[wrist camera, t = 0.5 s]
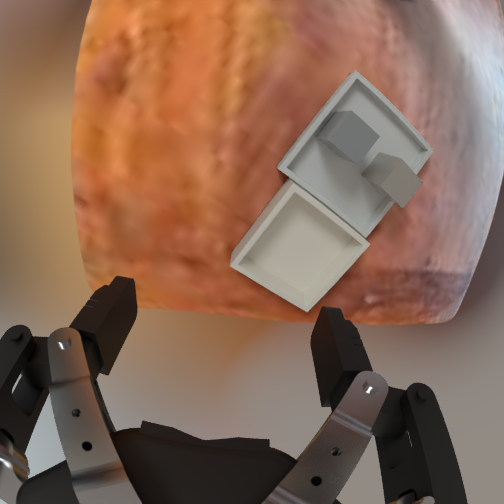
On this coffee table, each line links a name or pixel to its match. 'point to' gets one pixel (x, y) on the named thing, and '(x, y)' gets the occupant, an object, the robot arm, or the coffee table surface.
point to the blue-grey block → (348, 136)
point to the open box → (298, 247)
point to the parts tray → (347, 173)
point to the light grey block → (392, 178)
